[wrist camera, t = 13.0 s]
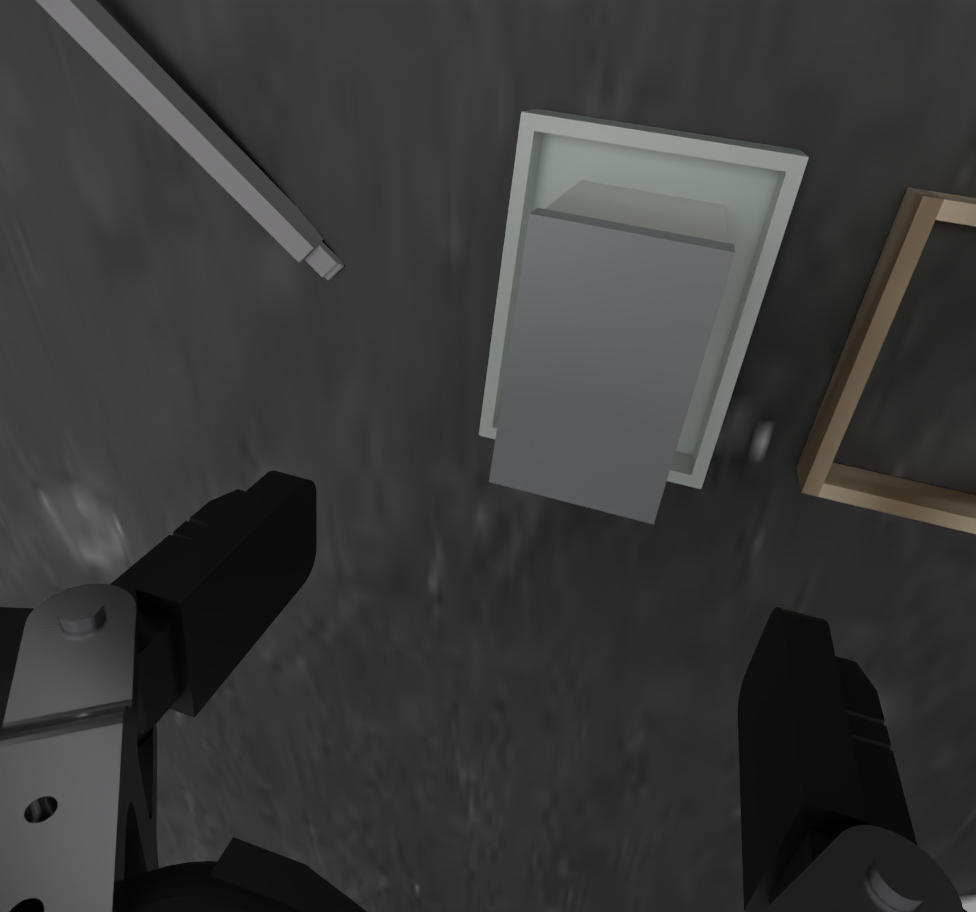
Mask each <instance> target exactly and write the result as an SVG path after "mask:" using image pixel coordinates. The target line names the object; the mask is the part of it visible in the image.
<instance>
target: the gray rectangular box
mask: <svg viewBox="0 0 976 912" xmlns="http://www.w3.org/2000/svg"><path fill="white" fill-rule="evenodd" d="M734 255H735V247H734V244H730V243H728V233H727V224H726V214H725V205H719V204H714V203H708V202H703V201H697V200H691V199H686V198H680V197H675V196H669V195H663V194H658V193H652V192H646V191H641V190H635V189H630V188H624V187H618V186H613V185H607V184H602V183H596V182H590V181H585V180H580V181H579V182H578V183H577V184H575V185H574V186H573V187H572V188H570V189H569V190H568V191H567V192H565V193H564V194H563V195H561V196H560V197H559V198H558V199H556V200H555V201H554V202H553V203H551V204H550V205H549V206H548V207H546V208H545V209H543V208H536V209H535V210H534V211H532V212H531V213H530V214H529V221H528V227H527V234H526V241H525V247H524V254H523V260H522V267H521V274H520V280H519V287H518V293H517V300H516V307H515V313H514V320H513V326H512V333H511V339H510V346H509V353H508V359H507V366H506V372H505V379H504V386H503V392H502V399H501V405H500V412H499V419H498V425H497V432H496V438H495V445H494V451H493V458H492V465H491V471H490V478H489V482H491V483H495V484H499V485H503V486H507V487H511V488H514V489H518V490H522V491H526V492H530V493H534V494H538V495H542V496H545V497H549V498H553V499H557V500H561V501H565V502H569V503H572V504H576V505H580V506H584V507H588V508H592V509H596V510H600V511H603V512H607V513H611V514H615V515H619V516H623V517H627V518H630V519H634V520H638V521H642V522H646V523H650V524H654V521H655V518H656V515H657V511H658V508H659V505H660V501H661V498H662V495H663V491H664V488H665V485H666V481H667V478H668V475H669V471H670V468H671V465H672V461H673V458H674V455H675V452H676V448H677V445H678V442H679V438H680V435H681V432H682V428H683V425H684V422H685V418H686V415H687V412H688V408H689V405H690V402H691V398H692V395H693V392H694V388H695V385H696V382H697V378H698V375H699V372H700V368H701V365H702V362H703V358H704V355H705V352H706V348H707V345H708V342H709V338H710V335H711V332H712V328H713V325H714V322H715V318H716V315H717V312H718V308H719V305H720V302H721V298H722V295H723V292H724V288H725V285H726V282H727V278H728V275H729V272H730V268H731V265H732V262H733V258H734Z"/></svg>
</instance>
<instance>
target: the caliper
mask: <svg viewBox="0 0 976 912" xmlns="http://www.w3.org/2000/svg"><path fill="white" fill-rule="evenodd" d="M32 1H33V0H32ZM36 1H37V2H38V3H39V4H40V5H41V6H42V7H43V8H44V9H45V10H46V11H47V12H48V13H49V14H50V15H51V16H52V17H53V18H54V19H55V20H56V21H57V22H58V23H59V24H60V25H61V26H62V27H63V28H64V29H65V30H66V31H67V32H68V33H69V34H70V35H71V36H72V37H73V38H74V39H75V40H76V41H77V42H78V43H79V44H80V45H81V46H82V47H83V48H84V49H85V50H86V51H87V52H88V53H89V54H90V55H91V56H92V57H93V58H94V59H95V60H96V61H97V62H98V63H99V64H100V65H101V66H102V67H103V68H104V69H105V70H106V71H107V72H108V73H109V74H110V75H111V76H112V77H113V78H114V79H115V80H116V81H117V82H118V83H119V84H120V85H121V86H122V87H123V88H124V89H125V90H126V91H127V92H128V93H129V94H130V95H131V96H132V97H133V98H134V99H135V100H136V101H137V102H138V103H139V104H140V105H141V106H142V107H143V108H144V109H145V110H146V111H147V112H148V113H149V114H150V115H151V116H152V117H153V118H154V119H155V120H156V121H157V122H158V123H159V124H160V125H161V126H162V127H163V128H164V129H165V130H166V131H167V132H168V133H169V134H170V135H171V136H172V137H173V138H174V139H175V140H176V141H177V142H178V143H179V144H180V145H181V146H182V147H183V148H184V149H185V150H186V151H187V152H188V153H189V154H190V155H191V156H192V157H193V158H194V159H195V160H196V161H197V162H198V163H199V164H200V165H201V166H202V167H203V168H204V169H205V170H206V171H207V172H208V173H209V174H210V175H211V176H212V177H213V178H214V179H215V180H216V181H217V182H218V183H219V184H220V185H221V186H222V187H223V188H224V189H225V190H226V191H227V192H228V193H229V194H230V195H231V196H232V197H233V198H234V199H235V200H236V201H237V202H238V203H239V204H240V205H241V206H242V207H243V208H244V209H245V210H246V211H247V212H248V213H249V214H250V215H251V216H252V217H253V218H254V219H256V220H257V221H258V222H259V223H260V224H261V225H262V226H263V227H264V228H265V229H266V230H267V231H268V232H269V233H270V234H271V235H272V236H273V237H274V238H275V239H276V240H277V241H278V242H279V243H280V244H281V245H282V246H283V247H284V248H285V249H286V250H287V251H288V252H289V253H290V254H291V255H292V256H293V257H294V258H295V259H296V260H297V261H298V262H301V261H303V260H304V259H305V261H306V262H307V263H308V264H309V265H310V266H311V267H312V268H313V269H314V270H315V271H316V272H317V273H318V274H319V275H321V276H322V277H325V278H326V279H327V280H331V279H332V278H333V277H334V276H335V275H336V274H337V273H338V272H339V271H340V270H341V269H342V268H343V267H344V264H343V262H342V261H341V260H340V259H339V258H338V257H337V256H336V255H335V254H334V253H333V252H332V251H331V250H330V249H329V248H328V247H327V246H326V245H325V244H324V243H323V242H322V240H323V238H322V237H321V236H320V234H319V233H318V232H317V231H316V230H315V228H314V227H313V226H312V225H311V223H310V222H309V221H308V220H307V219H306V217H305V216H304V215H303V214H302V213H301V211H300V210H299V209H298V208H297V207H296V206H295V205H294V204H293V203H292V201H291V200H290V199H289V198H288V197H287V196H286V195H285V194H284V193H283V192H282V191H281V190H280V189H279V188H278V187H277V186H276V185H275V184H274V183H273V182H272V181H271V180H270V179H269V178H268V177H267V176H266V175H265V174H264V173H263V172H262V171H261V170H260V169H259V168H258V167H257V166H256V165H255V164H254V162H253V161H252V160H251V159H250V158H249V157H248V156H247V155H246V154H245V153H244V152H243V151H242V150H241V149H240V148H239V147H238V146H237V145H236V144H235V143H234V142H233V141H232V140H231V139H230V138H229V137H228V136H227V135H226V134H225V133H224V132H223V131H222V130H221V129H220V128H219V127H218V126H217V125H216V124H215V122H214V121H213V120H212V119H211V118H210V117H209V116H208V115H207V114H206V113H205V112H204V111H203V110H202V109H201V108H200V107H199V106H198V105H197V104H196V103H195V102H194V101H193V100H192V99H191V98H190V97H189V96H188V95H187V94H186V93H185V92H184V91H183V90H182V88H181V87H180V86H179V85H178V84H177V83H176V82H175V81H174V80H173V79H172V78H171V77H170V76H169V75H168V74H167V73H166V72H165V71H164V70H163V69H162V68H161V67H160V66H159V65H158V64H157V63H156V62H155V61H154V60H153V59H152V57H151V56H150V55H149V54H148V53H147V52H146V51H145V50H144V49H143V48H142V47H141V46H140V45H139V44H138V43H137V42H136V41H135V40H134V39H133V38H132V37H131V36H130V35H129V34H128V33H127V32H126V31H125V30H124V29H123V27H122V26H121V25H120V24H119V23H118V22H117V21H116V20H115V19H114V18H113V17H112V16H111V15H110V14H109V13H108V12H107V11H106V10H105V9H104V8H103V7H102V6H101V5H100V4H99V3H98V2H97V1H96V0H36Z"/></svg>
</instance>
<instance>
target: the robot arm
mask: <svg viewBox="0 0 976 912" xmlns="http://www.w3.org/2000/svg"><path fill="white" fill-rule="evenodd" d="M315 556H316V487H315V484H314V482H313V481H311V480H308V479H304V478H300V477H296V476H293V475H289V474H285V473H281V472H278V471H270V472H268V473H267V474H265V475H264V476H263V477H262V478H261V479H260V480H259V481H257V482H256V483H255V484H254V485H253V486H252V487H251V488H249V489H248V490H247V491H246V492H245V491H242V490H238V489H237V490H235V491H233V492H230V493H228V494H226V495H223V496H221V497H219V498H216V499H214V500H211V501H210V502H208V503H207V504H206V505H205V506H204V507H202V508H201V509H200V510H199V511H198V512H196V513H195V514H194V515H193V516H192V517H190V520H189V522H187V521H186V522H184V523H183V524H182V525H181V526H180V527H178V528H177V529H176V530H175V531H174V533H173V535H172V536H171V535H169V536H168V537H166V538H165V539H164V540H163V541H162V542H160V543H159V544H158V545H157V546H156V547H154V548H153V549H152V550H151V551H150V552H148V553H147V554H146V555H145V556H144V557H142V558H141V559H140V560H139V561H138V562H136V563H135V564H134V565H133V566H132V567H130V568H129V569H128V570H127V571H126V572H124V573H123V574H122V575H121V576H120V577H118V578H117V579H116V580H115V581H114V582H112V583H111V584H110V585H109V584H86V585H80V586H75V587H72V588H68V589H66V590H63V591H60V592H58V593H56V594H54V595H52V596H50V597H48V598H47V599H45V600H44V601H42V602H41V603H40V604H39V605H38V606H36V607H35V608H34V609H30V608H6V607H0V912H367V911H365V910H364V909H363V908H361V907H360V906H359V905H357V904H356V903H355V902H354V901H352V900H351V899H350V898H348V897H347V896H346V895H344V894H343V893H342V892H340V891H339V890H338V889H337V888H335V887H334V886H333V885H331V884H330V883H329V882H327V881H326V880H325V879H324V878H322V877H321V876H320V875H318V874H317V873H316V872H314V871H313V870H312V869H310V868H309V867H308V866H307V865H305V864H303V863H300V862H297V861H295V860H292V859H289V858H287V857H284V856H281V855H279V854H276V853H273V852H271V851H268V850H266V849H263V848H260V847H258V846H255V845H252V844H250V843H247V842H244V841H242V840H239V839H236V838H234V837H233V838H232V840H231V841H230V843H229V845H228V846H227V848H226V849H225V851H224V852H223V854H222V856H221V857H220V859H219V860H218V862H215V861H205V862H188V863H182V864H176V865H170V866H166V867H162V868H159V865H158V854H157V728H156V723H157V722H158V721H159V720H160V718H161V717H162V716H163V715H164V714H165V713H166V712H167V710H168V709H172V710H175V711H178V712H180V713H183V714H186V715H189V716H192V717H195V716H196V715H197V714H198V713H199V711H200V710H201V709H202V708H203V707H204V705H205V704H206V703H207V702H208V700H209V699H210V698H211V697H212V695H213V694H214V693H215V692H216V691H217V689H218V688H219V687H220V686H221V684H222V683H223V682H224V681H225V680H226V678H227V677H228V676H229V675H230V673H231V672H232V671H233V670H234V669H235V667H236V666H237V665H238V664H239V662H240V661H241V660H242V659H243V658H244V656H245V655H246V654H247V653H248V651H249V650H250V649H251V648H252V647H253V645H254V644H255V643H256V642H257V640H258V639H259V638H260V637H261V636H262V634H263V633H264V632H265V631H266V629H267V628H268V627H269V626H270V625H271V623H272V622H273V621H274V620H275V618H276V617H277V616H278V615H279V614H280V612H281V611H282V610H283V609H284V607H285V606H286V605H287V604H288V603H289V601H290V600H291V599H292V598H293V596H294V595H295V594H296V593H297V592H298V590H299V589H300V588H301V587H302V585H303V584H304V583H305V581H306V580H307V578H308V576H309V574H310V572H311V570H312V567H313V564H314V561H315ZM884 721H885V720H884V716H883V712H882V708H881V705H880V701H879V697H878V693H877V690H876V689H875V688H874V686H873V685H872V683H871V682H870V681H869V679H868V678H867V677H866V675H865V674H864V672H863V671H862V670H861V668H860V667H859V665H858V664H857V663H856V662H854V661H850V660H847V659H843V658H840V657H836V656H835V652H834V648H833V643H832V638H831V633H830V628H829V624H828V622H827V621H826V620H824V619H820V618H816V617H812V616H809V615H805V614H801V613H798V612H794V611H790V610H786V609H783V608H779V607H776V608H775V609H774V610H773V611H772V613H771V615H770V617H769V619H768V622H767V624H766V626H765V629H764V631H763V633H762V636H761V638H760V640H759V643H758V645H757V647H756V650H755V652H754V655H753V657H752V659H751V662H750V664H749V666H748V669H747V671H746V674H745V676H744V679H743V683H742V686H741V691H740V696H739V703H738V735H739V766H740V797H741V828H742V859H743V890H744V911H747V912H967V911H965V910H964V909H963V907H962V903H961V900H960V898H959V895H958V893H957V891H956V889H955V887H954V885H953V884H952V882H951V880H950V879H949V877H948V876H947V875H946V873H945V872H944V871H943V869H942V868H941V867H940V866H939V865H938V864H937V863H936V862H935V861H934V859H932V858H931V857H930V856H929V855H928V854H927V853H926V852H925V851H924V850H922V849H921V848H920V847H918V846H917V843H916V839H915V835H914V831H913V827H912V824H911V820H910V816H909V812H908V808H907V804H906V801H905V797H904V793H903V789H902V785H901V781H900V777H899V774H898V770H897V766H896V762H895V758H894V754H893V751H892V750H890V745H891V743H890V739H889V735H888V731H887V728H886V726H884Z"/></svg>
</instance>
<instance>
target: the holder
mask: <svg viewBox="0 0 976 912" xmlns="http://www.w3.org/2000/svg"><path fill="white" fill-rule="evenodd" d="M935 220H940V221H946V222H952V223H958V224H964V225H970V226H976V198H972V197H965V196H959V195H953V194H947V193H941V192H934V191H928V190H922V189H916V188H909V187H907V190H906V192H905V195H904V197H903V200H902V202H901V205H900V207H899V210H898V212H897V215H896V217H895V220H894V223H893V225H892V228H891V230H890V233H889V235H888V238H887V240H886V243H885V245H884V248H883V250H882V253H881V255H880V258H879V260H878V263H877V265H876V268H875V270H874V273H873V275H872V278H871V280H870V283H869V286H868V288H867V291H866V293H865V296H864V298H863V301H862V303H861V306H860V308H859V311H858V313H857V316H856V318H855V321H854V323H853V326H852V328H851V331H850V333H849V336H848V338H847V341H846V343H845V346H844V349H843V351H842V354H841V356H840V359H839V361H838V364H837V366H836V369H835V371H834V374H833V376H832V379H831V381H830V384H829V386H828V389H827V391H826V394H825V396H824V399H823V401H822V404H821V406H820V409H819V412H818V414H817V417H816V419H815V422H814V424H813V427H812V429H811V432H810V434H809V437H808V439H807V442H806V444H805V447H804V449H803V452H802V454H801V457H800V459H799V462H798V464H797V467H796V470H797V475H798V479H799V484H800V488H801V493H805V494H809V495H813V496H817V497H821V498H826V499H830V500H834V501H838V502H842V503H847V504H851V505H855V506H859V507H864V508H868V509H872V510H876V511H880V512H885V513H889V514H893V515H897V516H901V517H906V518H910V519H914V520H918V521H922V522H927V523H931V524H935V525H939V526H944V527H948V528H952V529H956V530H960V531H965V532H969V533H973V534H976V495H973V494H969V493H964V492H960V491H956V490H951V489H947V488H942V487H938V486H934V485H929V484H925V483H921V482H916V481H912V480H907V479H903V478H899V477H894V476H890V475H886V474H881V473H877V472H872V471H868V470H864V469H859V468H855V467H851V466H846V465H842V464H837V463H833V460H834V458H835V455H836V453H837V450H838V448H839V446H840V443H841V441H842V439H843V436H844V434H845V432H846V429H847V427H848V425H849V422H850V420H851V417H852V415H853V413H854V410H855V408H856V406H857V403H858V401H859V399H860V396H861V394H862V392H863V389H864V387H865V385H866V382H867V380H868V377H869V375H870V373H871V370H872V368H873V366H874V363H875V361H876V359H877V356H878V354H879V352H880V349H881V347H882V345H883V342H884V340H885V337H886V335H887V333H888V330H889V328H890V326H891V323H892V321H893V319H894V316H895V314H896V312H897V309H898V307H899V304H900V302H901V300H902V297H903V295H904V293H905V290H906V288H907V286H908V283H909V281H910V279H911V276H912V274H913V272H914V269H915V267H916V264H917V262H918V260H919V257H920V255H921V253H922V250H923V248H924V246H925V243H926V241H927V239H928V236H929V234H930V232H931V229H932V227H933V224H934V222H935Z"/></svg>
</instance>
